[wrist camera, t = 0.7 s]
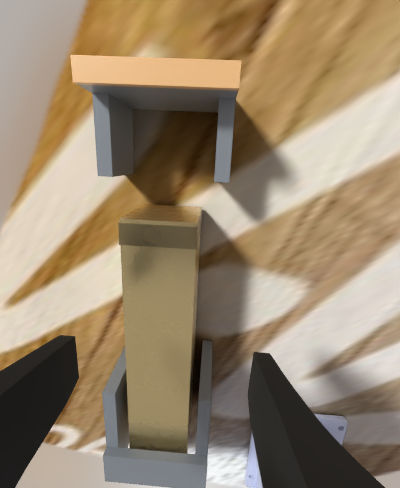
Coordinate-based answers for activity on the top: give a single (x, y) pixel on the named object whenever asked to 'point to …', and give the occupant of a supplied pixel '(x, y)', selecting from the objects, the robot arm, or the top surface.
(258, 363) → the robot arm
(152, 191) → the top surface
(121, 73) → the socket
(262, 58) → the top surface
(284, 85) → the top surface
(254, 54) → the top surface
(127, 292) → the tan rectangular post
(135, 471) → the sleeve
